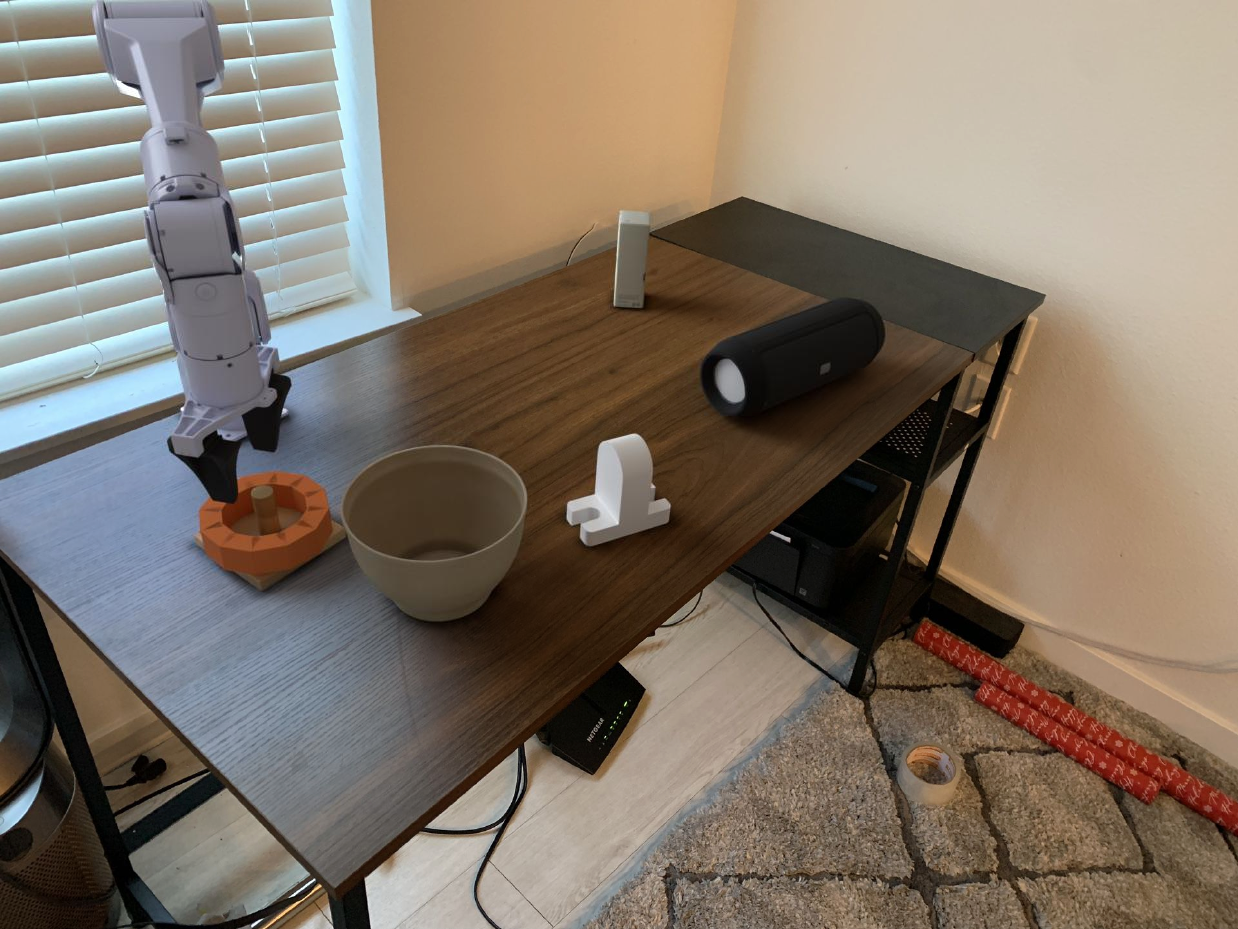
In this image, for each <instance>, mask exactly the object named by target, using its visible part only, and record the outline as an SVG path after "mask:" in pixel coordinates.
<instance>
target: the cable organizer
mask: <svg viewBox="0 0 1238 929" xmlns="http://www.w3.org/2000/svg"><path fill="white" fill-rule="evenodd" d="M596 459H597V460H596V472H595V485H594V493H593V494H591V495H587V496H584V497H580V498H576V499H573V500H569V501H568V502H567V503H566V520H567V522H568V523H569V525H570V526H571V527H572V526H573V527H574V526H576V525H579V524H580V532H579V539H580V540H581V541H582V542H583V544H584V545H585V546H587V547H594V546H597V545H599V544H600V545H601V544H604V543H606V542H611V541H613V540H616V539H620V538H624V537H626V536H630V535H632V534H636V533H639V532H643V531H646V530H648V529H653V528H655V527H659V526H662V525H664V524H665V525H666V524H667V523H669V520H670V513H671V503H670V501H668V500H667V498H661V499H657V500H655V495H656V486H655V485H654V483H652V482H653V473H654V466H653V458H652V455H651V452H650V449H649V447H648V445H647V443H646V441H645V440H644V438H643V437H642V436H641V435H640V434H638V433H630V434H627V435H623V436H619V437H615V438H611V439H607V440H603V441H601V442H600V443H599V445H598V448H597V458H596Z"/></svg>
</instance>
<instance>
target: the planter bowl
mask: <svg viewBox="0 0 1238 929" xmlns="http://www.w3.org/2000/svg"><path fill="white" fill-rule="evenodd" d="M339 509H340V510H339V512H340V517H341V523H342V527H344V529H345V533H346V536H347V539H348V542H349V546H350V548H351V551H352V554H353V556H354V559H355V560H356V562H357V564H358V566H359V568H360V569H361V570H362V572H363V573H364V575H365V576H366V577H367V579H368V580H369V581H370V582H371V583H372V585H373V586H374V587H375V588H376V589H377V590H378V591H380V592H381V594H383V595H384V596H385V597H386V598H388V599H389V600H391V601H392V602H394V605H395V606H396V607H397V608H398V609H399V610H400V611H402V612H403V613H405V614H406V615H408V616H410V617H412V618H414V619H417V620H421V621H426V622H448V621H453V620H458V619H461V618H463V617H466V616H468V615H470V614H472V613H473V612H475V611H477V610H478V609H479V608H481V606H483V605H484V604H485V602H486V601H488V598H489V597H490V595H491V593H492V591H493V590H494V589H495V588H496V587H497V586H498V585H499V583H500V582H502V580H503V578H504V577H505V576H506V575H507V573H508V571H509V569H510V568H511V566H512V564H513V563H514V561H515V558H516V556H517V553H518V551H519V548H520V545H521V542H522V538H523V532H524V524H525V519H526V516H527V512H528V492H527V488H526V485H525V483H524V481H523V479H522V478H521V476H520V474H518V472H517V471H516V470H515V469H514V468H513V467H512V466H510V464H508V463H507V462H505V461H503V460H502V459H500V458H499V457H497V456H495V455H492V454H490V453H488V452H484V451H482V450H478V449H475V448H471V447H466V446H460V445H448V444H431V445H424V446H415V447H411V448H406V449H402V450H399V451H396V452H392V453H390V454H387V455H384V456H383V457H381V458H378V459H377V460H375V461H373V462H372V463H369V465H367V466H365V467H364V468H363V469H362V470H361V471H359V473H357V474H356V475H355V476H354V477H353V479H352V480H350V482H349V484H348V485H347V487H346V489H345V491H344V492H343V495H342V498H341V501H340V508H339Z"/></svg>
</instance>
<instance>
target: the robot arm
mask: <svg viewBox="0 0 1238 929" xmlns="http://www.w3.org/2000/svg"><path fill="white" fill-rule="evenodd" d="M91 16H92V22H93V28H94V31H95V36H96V40H97V45H98V50H99V53H100V57H101V60H102V64H103V67H104V70H105V72H106V74H108V75H109V76H108V77H109V78H110V81H111V82H112V84H113V85H114V86H115V87H117V90H118V92H119V93H120V94H124V95H127V96H131V97H134V98H138V99H141V100H142V102H143V103H144V104H145V107H146V109H147V114H148V117H149V120H150V124H151V128H149V129H148V130H147V131H146V132H145V134H143V136H142V138H141V140H140V143H139V145H140V146H139V151H140V158H141V165H142V171H143V177H144V178H143V179H144V184H145V191H146V197H147V203H148V204H147V205H148V209H149V210H148V211H147V210H146V209H143V213H142V220H143V221H142V222H143V229H144V234H145V240H146V243H147V248H148V252H149V257H150V260H151V262H152V263H151V264H152V266H153V268H154V271H155V273H156V275H157V277H158V279H159V282H160V284H161V287H162V292H163V299H164V306H165V308H164V309H165V315H166V319H167V325H168V329H169V333H170V338H171V342H172V346H173V348H174V351H175V352H177V357H176V365H177V370H178V374H179V378H180V383H181V386H182V390H183V394H184V399H185V401H184V406H182V407H181V408H180V409H179V410H180V413H181V415H180V418H179V421H178V423H177V425H176V427H175V428H174V430H173V431H172V432H171V433H170V435H169V437H168V438H167V440H166V444H167V448H168V451H169V453H170V454H172V455H173V456H174V457H176V458H177V459H178V460H180V461H181V462H182V463H183V464H184V465H185V466H187V467H188V468H189V469H190V470H191V472H192V473H193V474H194V475H195V476H196V477H197V479H198V480H199V482H200V483H201V485H202V486H203V488H204V489H205V491H206V492H207V494H208V495H209V497H211V499H212V500H213V501H218V502H223V503H229V504H234V503H235V502H236V500H237V498H238V482H237V479H238V475H237V474H238V473H237V467H238V466H237V464H238V457H239V453H240V449H241V447H242V444H243V442H242V441H239V440H241V439H243V438H245V437H247V438H248V442H249V443H250V445H251V448H252V449H253V450H254V451H261V452H265V453H272V454H274V453H276V451H277V450H278V447H279V441H280V440H279V438H280V430H281V421H282V418H284V417H287V416H288V415H289V409H287V408H286V407H284V406H285V403H286V401H287V397H288V394H289V392H290V390H291V388H292V379H291V377H289V376H288V375H284V374H279V373H275V372H276V371H277V370H278V369H279V368H280V367H281V360H280V354H279V349H278V347H273V346H267V345H268V344H269V342H270V341H271V340H272V332H271V327H270V320H269V316H268V310H267V305H266V301H265V300H266V299H265V296H264V292H263V291H262V286H261V281H260V278H259V277H258V276H257V275H256V273H255V271H254V270H252V269H250V268H248V267H246V264H247V257H246V250H245V245H244V244H245V243H244V239H243V234H242V228H241V224H240V219H239V213H238V210H237V208H236V206H235V203H234V201H233V199H232V196H231V193H230V189H229V187H228V186H227V185H226V181H225V178H224V177H225V176H224V172H223V167H222V166H223V165H222V162H221V157H220V152H219V147H218V144H217V142H216V140H215V138H214V137H213V136H212V135H211V133H210V132H208V131H207V130H205V129H204V126H203V122H202V116H201V115H202V109H203V105H204V101H205V97H206V96H208V95H211V94H213V93H215V92H218V91H220V90H222V89H223V82H224V81H225V73H224V72H225V67H226V66H225V61H224V60H225V59H224V53H223V48H222V42H221V35H220V31H219V26H218V25H219V24H218V21H217V15H216V10H215V7H214V6H213V5H212V4H211V3H210V2H209V1H208V0H199V1H197V0H195V1H194V0H193V1H191V0H189V1H187V0H186V1H185V0H184V1H181V0H180V1H178V0H177V1H108V2H105V1H104V0H96V1H95V4H94V5H93V6H92V8H91ZM234 254H236V255H237V257H239V259H240V262H241V263H239V262H237V261H236V259H234V257H233V255H234Z"/></svg>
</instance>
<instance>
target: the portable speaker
mask: <svg viewBox="0 0 1238 929" xmlns="http://www.w3.org/2000/svg"><path fill="white" fill-rule="evenodd" d="M885 340H886V328H885V323H884V320H883V317H882V316H881V314H880V313H879V311H878V309H877V308H875V306H874V305H872V304H871V303H870V302H868V301H866V300H864V299H859V298H854V297H843V296H842V297H838V298H835V299H831V300H829V301H828V300H827V301H826V302H822V303H819V304H817V305H814V306H812V307H809V308H806V309H804V310H801V311H798V312H795V313H793V314H790V315H787V316H785V317H782V318H779V319H776V320H773V321H771V322H768V323H765V324H762V325H760V326H759V325H758V326H757V327H754V328H751V329H748V330H746V331H743V332H740V333H737V334H735V335H732V336H729V337H726V338H724V339H722V340H720V341H719V342H718V343H716V345H715V346H713V348H712V349H710V350H709V352H707V354H706V355H705V356H704V357H703V359H702V361H701V364H700V368H699V380H700V385H701V389H702V391H703V394H704V396H705V398H706V400H707V402H708V403H709V404H710V406H711V407H712V408H713V409H714V410H715V411H717V412H718V413H720V414H721V415H723V416H726V417H737V418H738V417H739V418H750V417H754V416H756V415H757V414H760V413H762V412H764V411H766V410H768V409H771V408H773V407H775V406H778V405H780V404H782V403H785V402H787V401H789V400H792V399H794V398H796V397H798V396H802V395H803V394H806V393H808V392H811V391H813V390H815V389H817V388H819V387H822V386H824V385H826V384H829V383H831V382H833V381H835V380H838V379H841V378H842V377H845V376H847V375H850V374H852V373H854V372H857V371H859V370H862V369H865V368H866V367H869V365H870V364H872V362H873V361H874V360H875V359H876V357H877V356H878V355H879V353H880V352H881V350H882V349H883V347H884V344H885Z"/></svg>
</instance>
